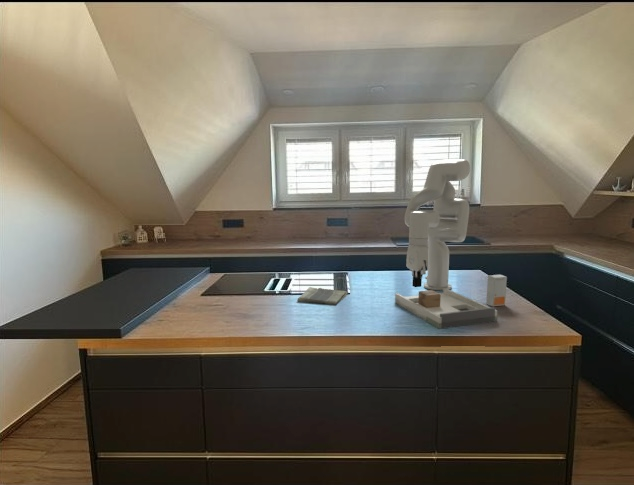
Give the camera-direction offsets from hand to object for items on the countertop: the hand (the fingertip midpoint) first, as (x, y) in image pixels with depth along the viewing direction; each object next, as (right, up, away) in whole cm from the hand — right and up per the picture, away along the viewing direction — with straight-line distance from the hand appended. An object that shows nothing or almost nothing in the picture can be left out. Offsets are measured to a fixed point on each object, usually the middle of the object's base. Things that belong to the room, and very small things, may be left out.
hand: (416, 286), depth 169 cm
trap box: (+8, -9, -8) cm, 14 cm away
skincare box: (+32, -8, -1) cm, 33 cm away
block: (+3, -7, -7) cm, 10 cm away
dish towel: (-38, -7, +12) cm, 41 cm away
